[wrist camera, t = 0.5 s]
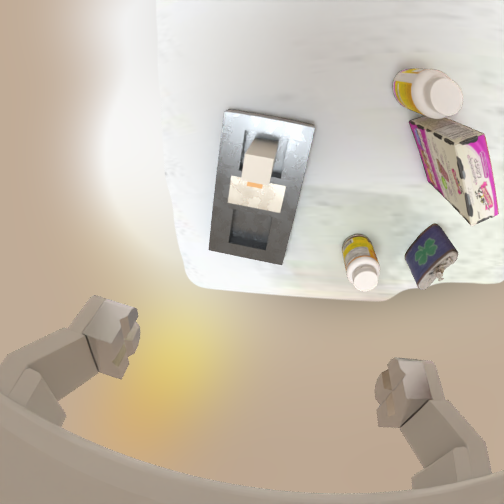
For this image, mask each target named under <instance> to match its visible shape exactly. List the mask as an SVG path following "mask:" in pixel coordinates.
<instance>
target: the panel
mask: <svg viewBox="0 0 504 504" xmlns="http://www.w3.org/2000/svg"><path fill="white" fill-rule="evenodd" d="M314 130H315V127H314V125H313V124H308V123H304V122H299V121H294V120H289V119H284V118H279V117H274V116H269V115H263V114H257V113H251V112H245V111H239V110H232V109H228V110H226V111H225V113H224V120H223V127H222V135H221V143H220V151H219V159H218V167H217V175H216V184H215V193H214V202H213V212H212V221H211V231H210V242H209V250H211V251H216V252H220V253H225V254H230V255H235V256H240V257H245V258H249V259H254V260H259V261H264V262H269V263H274V264H279V265H282V263H283V260H284V256H285V252H286V248H287V244H288V240H289V236H290V232H291V228H292V224H293V220H294V216H295V212H296V207H297V203H298V199H299V195H300V191H301V187H302V182H303V178H304V174H305V170H306V165H307V161H308V157H309V152H310V148H311V143H312V139H313V134H314ZM255 137H256V138H262V139H267V140H273V141H278V147H277V152H276V157H275V163H274V167H273V171H272V175H271V179H270V183H269V186H267V185H263V187H262V189H260V188H255V187H250V186H247V181H241V176H242V170H243V163H244V157H245V153H246V151H247V150H248V148H249V146H250V145H251V143H252V142H253V140H254V138H255Z"/></svg>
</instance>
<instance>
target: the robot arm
mask: <svg viewBox="0 0 504 504" xmlns="http://www.w3.org/2000/svg"><path fill="white" fill-rule="evenodd" d="M137 318H138V312H137V309H136V308H134V307H131V306H128V305H124V304H121V303H118V302H115V301H112V300H109V299H105V298H102V297H99V296H96V295H94V296H92V297H90V299H89V300H88V301H87V303H86V304H85V305H84V307H83V308H82V309H81V311H80V312H79V314H78V315H77V316H76V318H75V319H74V320H73V322H72V323H71V325H70V326H69V327H68V329H67V328H62V329H60V330H58V331H56V332H53V333H52V334H49V335H47V336H45V337H43V338H41V339H39V340H37V341H35V342H32V343H30V344H28V345H26V346H24V347H22V348H20V349H18V350H16V351H14V352H12V353H10V354H8V355H7V356H6V358H5V359H4V360H3V362H2V363H1V365H0V504H504V470H503V471H500V472H496V473H493V474H492V472H491V467H490V461H489V457H488V452H487V447H486V443H485V441H484V440H483V439H482V438H481V437H480V436H479V434H478V433H477V432H476V431H475V430H474V428H473V427H472V426H471V425H470V424H469V423H468V422H467V420H466V419H465V418H464V417H463V416H462V415H461V414H460V412H459V411H458V410H457V409H456V408H455V407H454V406H453V404H452V403H451V402H450V401H449V400H445V397H444V394H443V390H442V386H441V382H440V379H439V376H438V372H437V369H436V365H435V363H434V362H433V361H428V360H417V359H405V358H393V359H392V360H391V361H390V362H389V363H388V370H386V371H384V372H382V373H381V374H380V376H379V377H378V379H377V382H376V386H375V398H376V400H377V401H378V403H379V404H380V406H379V407H378V409H377V416H378V426H379V427H394V428H400V430H401V432H402V433H403V435H404V437H405V438H406V440H407V442H408V443H409V445H410V446H411V448H412V449H413V451H414V453H415V454H416V456H417V458H418V459H419V461H420V463H421V464H422V466H423V468H424V469H423V470H421V471H420V472H418V473H416V474H415V475H414V476H413V477H412V490H404V491H394V492H380V493H360V494H324V493H302V492H288V491H279V490H270V489H262V488H255V487H247V486H241V485H235V484H230V483H224V482H219V481H214V480H209V479H205V478H201V477H197V476H192V475H188V474H184V473H180V472H177V471H173V470H170V469H166V468H163V467H159V466H156V465H153V464H150V463H147V462H144V461H141V460H138V459H135V458H132V457H129V456H126V455H123V454H121V453H118V452H115V451H113V450H111V449H108V448H106V447H103V446H101V445H98V444H96V443H93V442H91V441H89V440H87V439H84V438H82V437H80V436H78V435H76V434H73V433H71V432H69V431H67V430H65V429H63V428H61V426H62V424H63V422H64V420H65V418H66V414H65V412H64V410H63V409H62V407H61V406H60V404H59V403H58V401H59V400H60V399H62V398H63V397H65V396H66V395H68V394H69V393H70V392H72V391H73V390H75V389H76V388H78V387H79V386H81V385H82V384H84V383H85V382H86V381H88V380H89V379H91V378H92V377H93V376H95V375H96V374H98V372H101V373H103V374H106V375H109V376H112V377H115V378H119V379H122V377H123V375H124V373H125V371H126V369H127V367H128V365H129V361H128V357H129V356H130V355H132V354H134V353H135V351H136V349H137V346H138V343H139V339H140V326H139V325H138V324H137V322H136V320H137Z"/></svg>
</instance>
